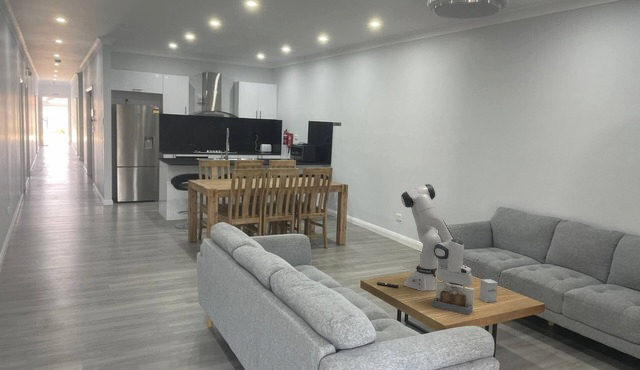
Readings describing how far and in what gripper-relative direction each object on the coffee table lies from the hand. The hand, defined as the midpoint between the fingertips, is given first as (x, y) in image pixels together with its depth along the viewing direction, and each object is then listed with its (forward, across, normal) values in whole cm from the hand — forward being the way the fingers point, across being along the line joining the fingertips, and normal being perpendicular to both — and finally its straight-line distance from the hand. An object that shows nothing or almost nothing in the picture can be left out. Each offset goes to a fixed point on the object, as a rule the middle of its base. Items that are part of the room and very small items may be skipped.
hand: (453, 290), depth 274 cm
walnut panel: (+11, 0, 0) cm, 11 cm away
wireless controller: (+12, -12, +53) cm, 56 cm away
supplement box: (+11, +14, +28) cm, 34 cm away
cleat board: (+11, 0, 0) cm, 11 cm away
